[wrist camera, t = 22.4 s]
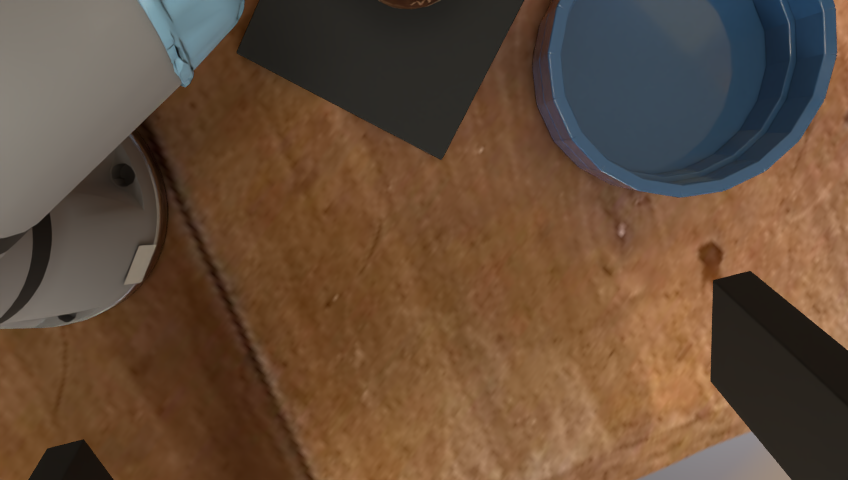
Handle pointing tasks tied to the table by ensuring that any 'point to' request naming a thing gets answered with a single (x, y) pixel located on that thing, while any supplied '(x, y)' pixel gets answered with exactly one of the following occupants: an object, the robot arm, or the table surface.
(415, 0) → the coffee cup
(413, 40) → the mat
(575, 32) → the bowl
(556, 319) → the table surface
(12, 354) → the table surface
